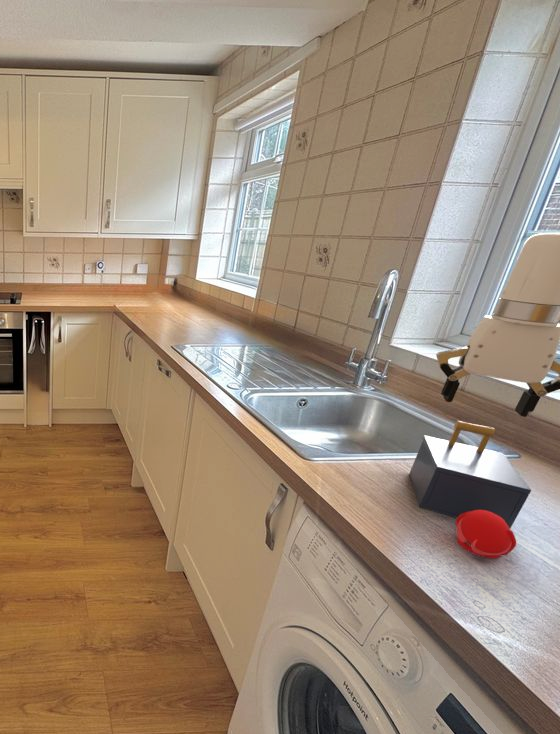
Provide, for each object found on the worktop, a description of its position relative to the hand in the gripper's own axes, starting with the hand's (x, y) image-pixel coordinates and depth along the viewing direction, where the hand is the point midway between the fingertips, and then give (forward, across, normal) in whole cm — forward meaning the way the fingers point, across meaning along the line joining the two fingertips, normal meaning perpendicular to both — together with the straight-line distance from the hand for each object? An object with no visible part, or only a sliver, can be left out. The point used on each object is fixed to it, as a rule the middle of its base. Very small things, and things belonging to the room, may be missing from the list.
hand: (482, 406), depth 74 cm
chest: (+17, 0, +5) cm, 18 cm away
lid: (+9, 0, +5) cm, 11 cm away
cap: (+17, -1, +20) cm, 26 cm away
